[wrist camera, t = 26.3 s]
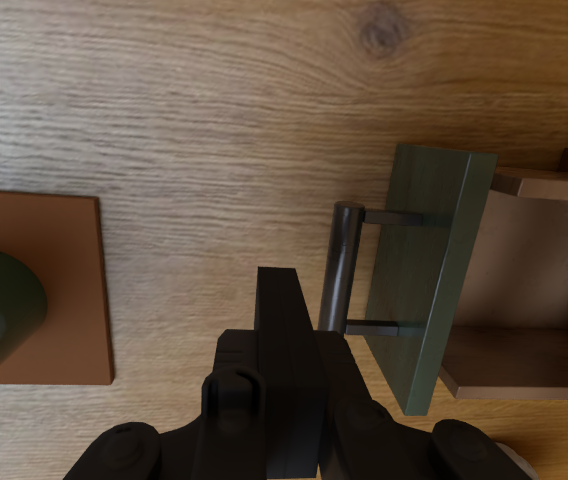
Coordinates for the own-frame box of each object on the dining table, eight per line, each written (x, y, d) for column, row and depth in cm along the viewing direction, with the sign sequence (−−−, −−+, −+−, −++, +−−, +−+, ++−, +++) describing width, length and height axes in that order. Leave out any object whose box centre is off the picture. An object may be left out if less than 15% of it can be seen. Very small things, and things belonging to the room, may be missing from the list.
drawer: (300, 332, 23) (319, 416, 16) (323, 136, 19) (361, 141, 12) (555, 339, 25) (664, 416, 18) (625, 163, 21) (796, 180, 14)
